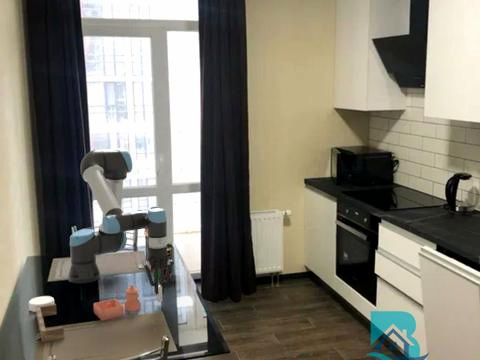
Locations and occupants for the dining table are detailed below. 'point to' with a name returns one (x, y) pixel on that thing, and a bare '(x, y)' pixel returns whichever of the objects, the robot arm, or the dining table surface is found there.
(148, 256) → the whiskey bottle
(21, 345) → the dining table surface
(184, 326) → the dining table surface
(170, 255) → the motor
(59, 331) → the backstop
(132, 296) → the pottery
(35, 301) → the coaster
